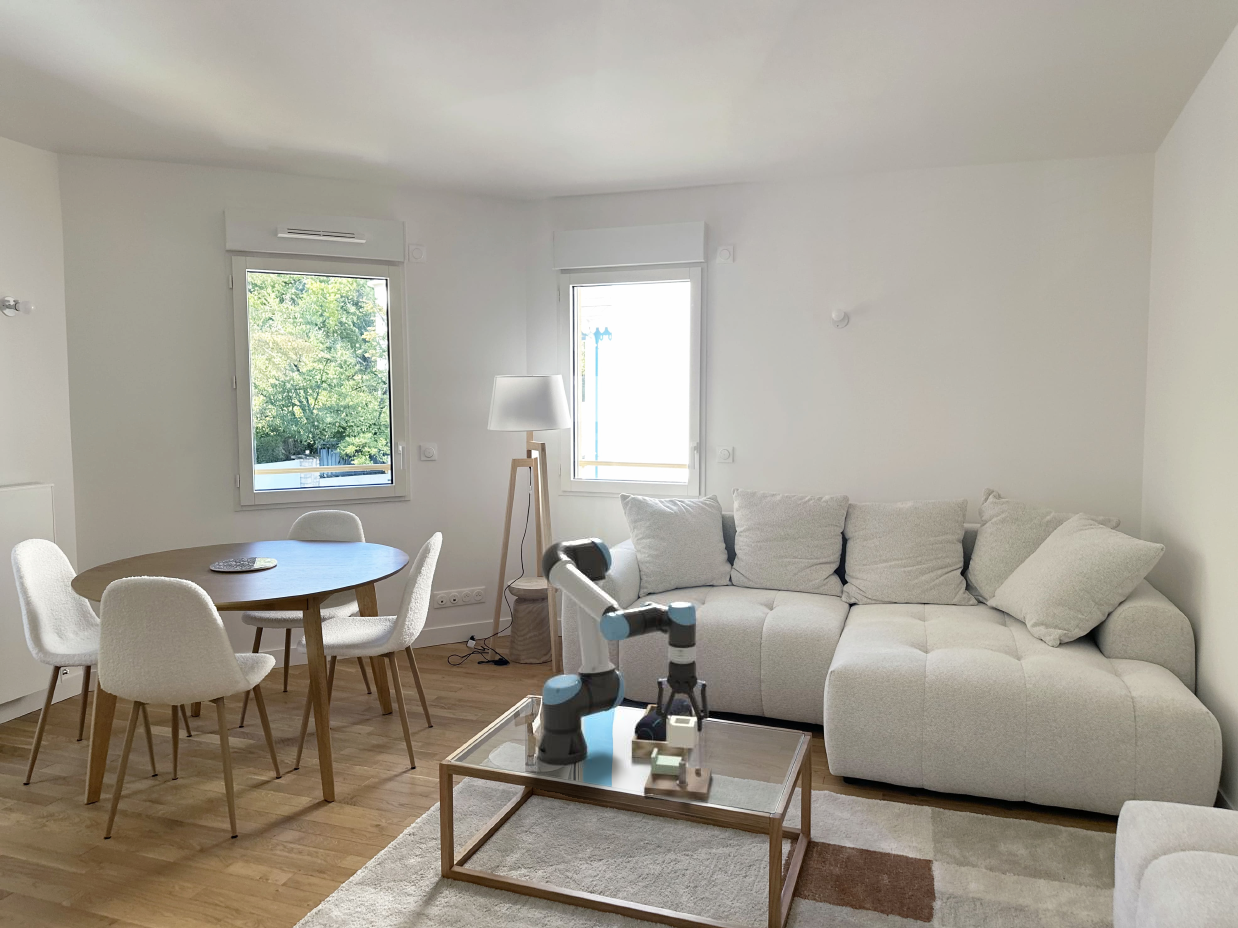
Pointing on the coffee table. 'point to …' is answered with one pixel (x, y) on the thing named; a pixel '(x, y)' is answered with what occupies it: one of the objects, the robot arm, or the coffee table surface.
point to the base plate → (680, 783)
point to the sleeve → (681, 732)
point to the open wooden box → (655, 744)
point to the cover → (664, 764)
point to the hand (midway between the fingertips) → (682, 741)
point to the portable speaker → (661, 721)
